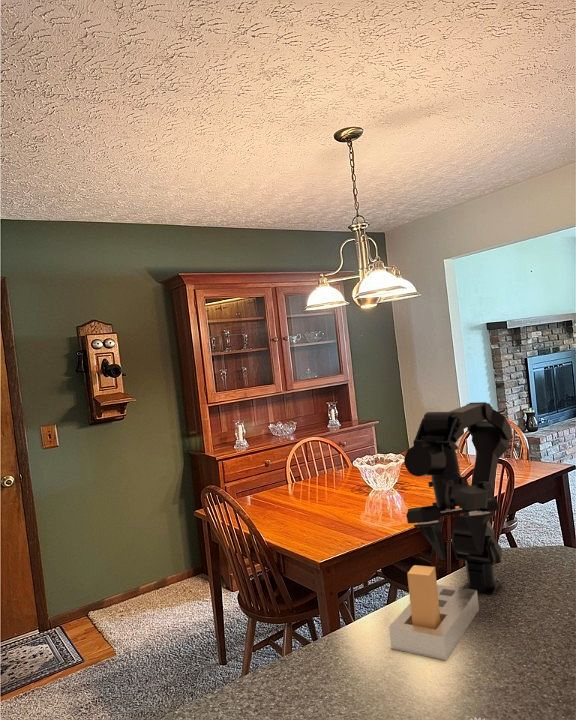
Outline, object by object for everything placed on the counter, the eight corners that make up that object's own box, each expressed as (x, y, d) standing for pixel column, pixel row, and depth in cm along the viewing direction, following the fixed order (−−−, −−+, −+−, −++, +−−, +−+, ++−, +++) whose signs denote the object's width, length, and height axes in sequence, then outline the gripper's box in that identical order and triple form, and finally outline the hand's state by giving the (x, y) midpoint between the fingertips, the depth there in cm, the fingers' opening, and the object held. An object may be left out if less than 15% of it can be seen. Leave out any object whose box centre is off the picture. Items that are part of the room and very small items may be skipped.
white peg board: (430, 602, 119) (428, 582, 119) (478, 610, 113) (476, 589, 113) (391, 648, 102) (388, 626, 102) (445, 660, 96) (443, 636, 96)
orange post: (420, 634, 106) (413, 565, 106) (442, 637, 104) (435, 567, 104) (414, 644, 102) (407, 573, 102) (436, 648, 101) (429, 575, 100)
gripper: (433, 473, 103) (451, 564, 99) (509, 464, 111) (529, 548, 106) (398, 480, 112) (413, 563, 108) (471, 471, 120) (487, 548, 116)
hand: (462, 555), depth 109 cm, fingers open, 9 cm apart
